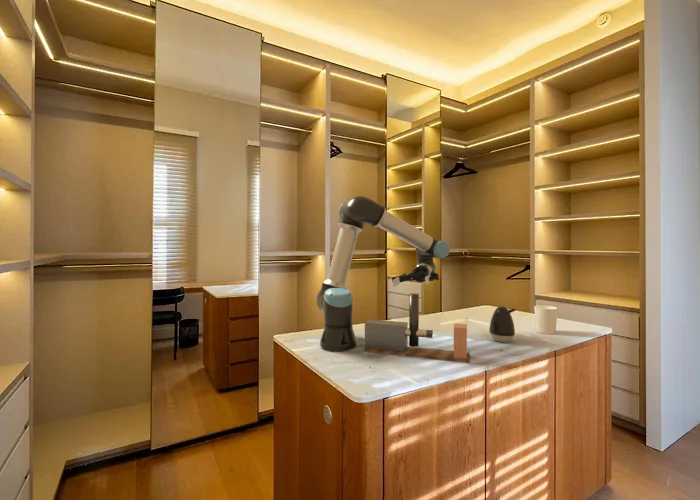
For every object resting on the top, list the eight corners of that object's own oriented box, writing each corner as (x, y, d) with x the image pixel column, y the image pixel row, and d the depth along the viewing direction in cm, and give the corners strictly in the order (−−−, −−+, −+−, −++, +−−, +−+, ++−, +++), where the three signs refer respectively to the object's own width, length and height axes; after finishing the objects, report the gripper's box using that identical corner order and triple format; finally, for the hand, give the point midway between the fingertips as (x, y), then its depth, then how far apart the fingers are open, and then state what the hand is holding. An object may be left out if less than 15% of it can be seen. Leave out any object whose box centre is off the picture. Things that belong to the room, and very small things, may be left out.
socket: (453, 357, 127) (453, 327, 127) (454, 351, 134) (454, 323, 134) (466, 358, 126) (466, 328, 126) (466, 352, 132) (466, 324, 132)
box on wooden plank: (364, 348, 139) (364, 322, 138) (369, 343, 145) (369, 319, 144) (404, 352, 133) (404, 325, 133) (407, 347, 139) (407, 322, 139)
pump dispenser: (518, 345, 146) (518, 309, 146) (491, 343, 148) (492, 308, 148) (511, 338, 156) (512, 304, 156) (487, 337, 158) (487, 303, 158)
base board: (363, 351, 137) (363, 349, 137) (369, 345, 146) (369, 342, 146) (469, 362, 125) (469, 359, 125) (469, 354, 133) (469, 352, 133)
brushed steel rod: (370, 342, 139) (370, 292, 139) (372, 340, 143) (372, 291, 142) (431, 348, 131) (432, 295, 131) (432, 345, 135) (432, 294, 134)
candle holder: (529, 329, 171) (529, 305, 171) (548, 329, 172) (548, 305, 172) (542, 335, 161) (542, 309, 161) (562, 334, 163) (562, 308, 162)
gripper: (450, 278, 156) (441, 289, 137) (397, 282, 167) (382, 293, 148) (448, 262, 156) (439, 270, 136) (395, 267, 166) (380, 275, 147)
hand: (409, 282), depth 142 cm, fingers open, 13 cm apart
